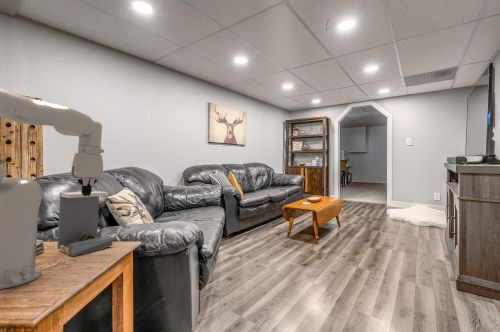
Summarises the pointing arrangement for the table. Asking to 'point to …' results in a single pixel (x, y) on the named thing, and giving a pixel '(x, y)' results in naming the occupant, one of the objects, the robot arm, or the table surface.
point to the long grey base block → (87, 246)
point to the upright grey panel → (77, 216)
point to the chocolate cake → (85, 237)
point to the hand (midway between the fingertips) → (86, 195)
